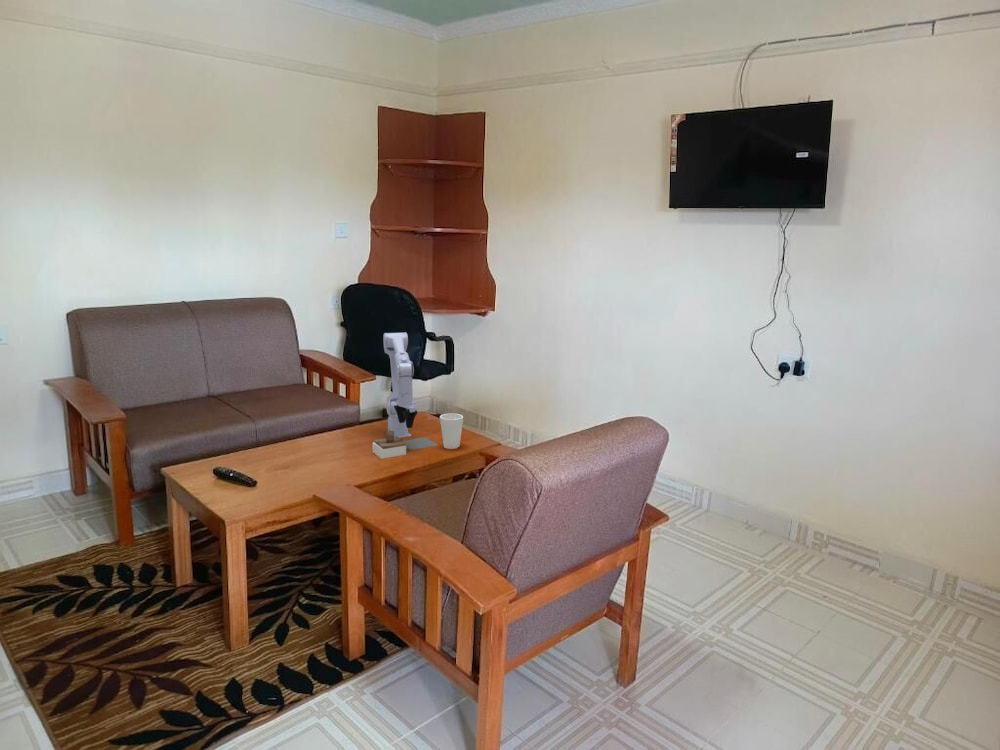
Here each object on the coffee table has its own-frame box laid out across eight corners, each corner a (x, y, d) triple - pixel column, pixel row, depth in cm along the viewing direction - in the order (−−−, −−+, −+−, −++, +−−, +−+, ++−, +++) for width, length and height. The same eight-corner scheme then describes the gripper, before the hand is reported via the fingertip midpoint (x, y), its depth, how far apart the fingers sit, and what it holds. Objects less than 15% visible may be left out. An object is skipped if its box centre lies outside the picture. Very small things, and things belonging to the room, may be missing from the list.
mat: (399, 442, 292) (399, 441, 292) (425, 438, 298) (425, 437, 298) (411, 450, 282) (411, 449, 282) (438, 446, 288) (438, 445, 288)
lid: (374, 442, 279) (374, 430, 278) (397, 438, 284) (396, 427, 282) (383, 449, 271) (382, 436, 270) (406, 445, 275) (405, 433, 274)
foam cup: (464, 444, 291) (464, 414, 288) (461, 451, 282) (461, 420, 279) (442, 443, 291) (441, 413, 289) (437, 450, 282) (437, 419, 280)
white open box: (372, 452, 280) (372, 442, 279) (396, 448, 285) (395, 438, 284) (382, 459, 271) (382, 449, 270) (406, 455, 276) (406, 445, 275)
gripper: (422, 395, 275) (422, 428, 278) (407, 387, 287) (407, 419, 290) (405, 397, 272) (405, 431, 275) (391, 389, 284) (391, 421, 287)
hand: (405, 425), depth 282 cm, fingers open, 7 cm apart
